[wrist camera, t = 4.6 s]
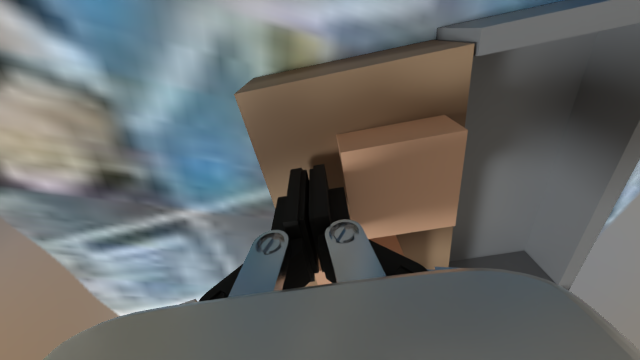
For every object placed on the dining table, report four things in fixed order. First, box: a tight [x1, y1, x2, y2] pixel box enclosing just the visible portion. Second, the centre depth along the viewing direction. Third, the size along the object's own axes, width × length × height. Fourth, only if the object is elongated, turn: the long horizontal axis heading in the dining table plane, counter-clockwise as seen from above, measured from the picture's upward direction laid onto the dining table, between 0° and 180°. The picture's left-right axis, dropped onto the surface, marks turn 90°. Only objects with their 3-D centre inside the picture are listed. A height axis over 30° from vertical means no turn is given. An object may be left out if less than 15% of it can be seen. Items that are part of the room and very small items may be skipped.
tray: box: [437, 0, 640, 290], centre depth 16 cm, size 19×9×4 cm, turn 11°
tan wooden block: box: [234, 40, 475, 287], centre depth 17 cm, size 18×10×4 cm, turn 11°
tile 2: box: [336, 115, 468, 239], centre depth 12 cm, size 5×5×2 cm
